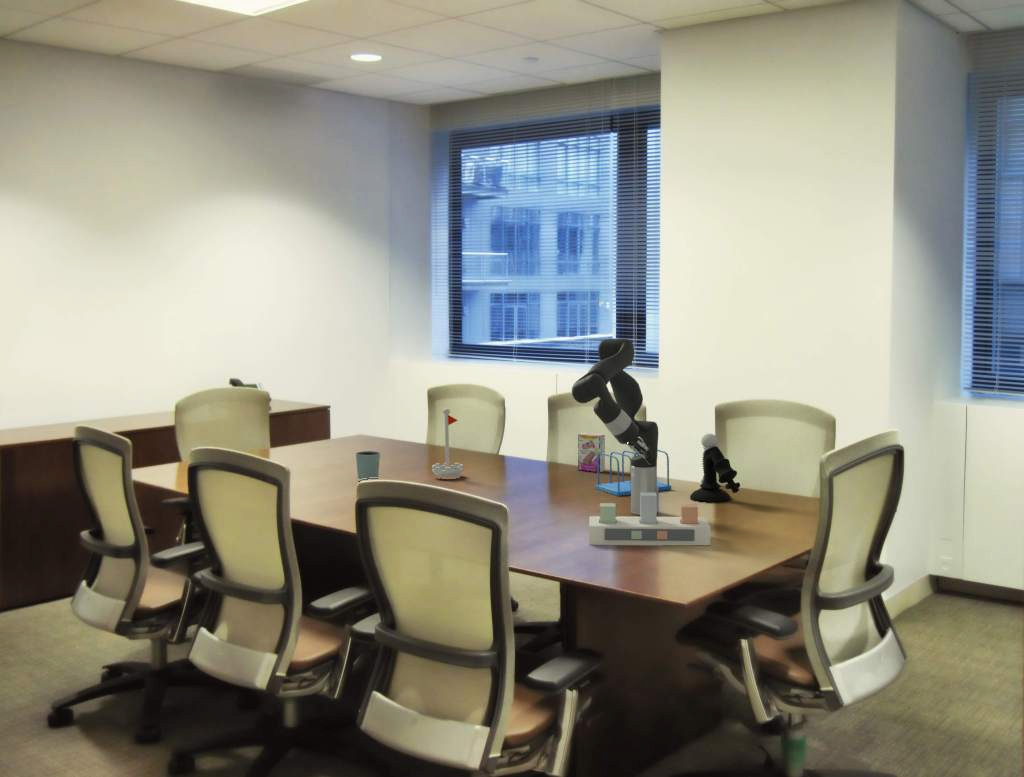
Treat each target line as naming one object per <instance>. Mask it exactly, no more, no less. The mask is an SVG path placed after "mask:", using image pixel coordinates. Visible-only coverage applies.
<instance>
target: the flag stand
mask: <svg viewBox="0 0 1024 777" xmlns="http://www.w3.org/2000/svg"><path fill="white" fill-rule="evenodd" d="M450 412H451V410H450V409H449V408H448V407H445V408H443V410H442V414H444V439H445V440H444V444H445V445H444V446H445V447H444V448H445V449H444V450H445V451H444V452H445V453H444V454H445V462H443V464H442V465H441V463H439V462H438V463H434V464H432V466H431V470H432V472H433V473H434V476H435V475H436V476H439V477H458V476H460V477H461V473H462V472H463V468H464V466H463V464H462V463H461V464H460V463H459V462H454V463H453V464H451V462H450V444H449V443H450V442H449V441H450V438H449V436H450V435H449V432H450V431H449V429H450V428H449V426H450V425H451V424H453V423H456V422H458V421H459V420H458V419H457V418H455V417H452V416H451V415H450Z"/></svg>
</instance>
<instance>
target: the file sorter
mask: <svg viewBox="0 0 1024 777" xmlns="http://www.w3.org/2000/svg"><path fill="white" fill-rule="evenodd" d="M657 452H659V453H664V454H665V455H666V466H667V467H666V469H667V470H666V477H667V478H666V480H667V483H663V482H661V481H658V480H657V486H658V487H659V491H660V492H661V491H668V490H669V491H670V490H672V485H671V484H670V465H669V464H670V463H669V462H670V457H669V454H668V452H666V451H665V450H661V449H660V450H659V449H658V451H657ZM625 453H629V454H633V457H634V456H637V455H638V454H636V452H634V451H630V450H623V451H622V453H621V452H617V451H611V452H610V454H607V453H605V454H603V453H599V454H598V456H597V471H598V472H597V484H595V489H596V490H598V489H599V490H598V491H602V492H604V491H605V493H607V492H608V494H610V495H614V496H616V497H620V496H622V495H623V496H628V495H630V496H631V480H625V466H624V464H625V462H624V459H625V458H624V457H627V458H628V459H629V462H630V466H629V467H630V469H629V470H630V473H629V474H630V475H631V459H632V457H631V456H630V455H628V454H625ZM600 454H601V455H605V457H609V478H610V479H609V482H608V483H601V484H600V473H599V455H600ZM613 454H616V455H620V456H621V470H622V471H621V476H622V481H620V461H619V459H618V458H617V456H614V455H613ZM612 458H613V459H615V460H616V463H617V464H616V465H617V482H615V481H614V482H613V480H612V478H613V475H612V471H613V470H612V469H613V468H612V465H613V464H612Z"/></svg>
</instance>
